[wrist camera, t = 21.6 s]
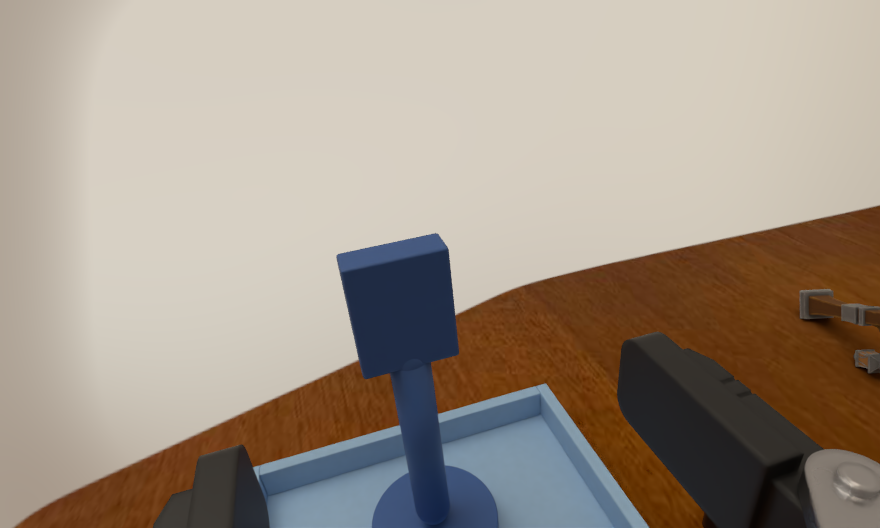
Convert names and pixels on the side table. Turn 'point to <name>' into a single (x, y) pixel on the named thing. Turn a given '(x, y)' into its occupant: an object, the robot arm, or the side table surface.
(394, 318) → the blue sign on stand
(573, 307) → the side table surface
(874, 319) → the wooden post with brackets
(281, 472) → the tray
